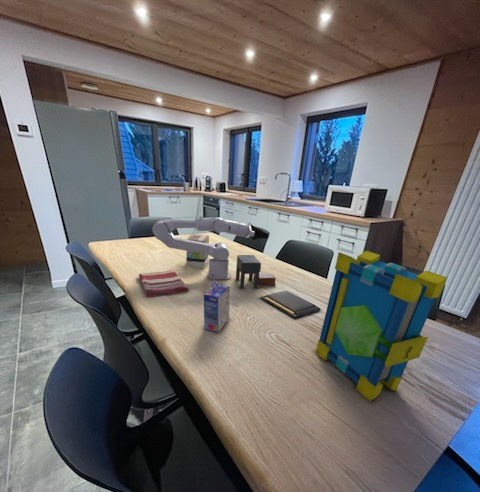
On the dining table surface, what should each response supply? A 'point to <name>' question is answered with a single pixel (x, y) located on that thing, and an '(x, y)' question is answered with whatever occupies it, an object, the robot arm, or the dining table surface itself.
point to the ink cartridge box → (216, 307)
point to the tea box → (197, 258)
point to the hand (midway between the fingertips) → (265, 234)
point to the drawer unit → (248, 269)
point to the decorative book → (376, 320)
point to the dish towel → (162, 283)
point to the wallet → (290, 304)
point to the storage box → (266, 279)
